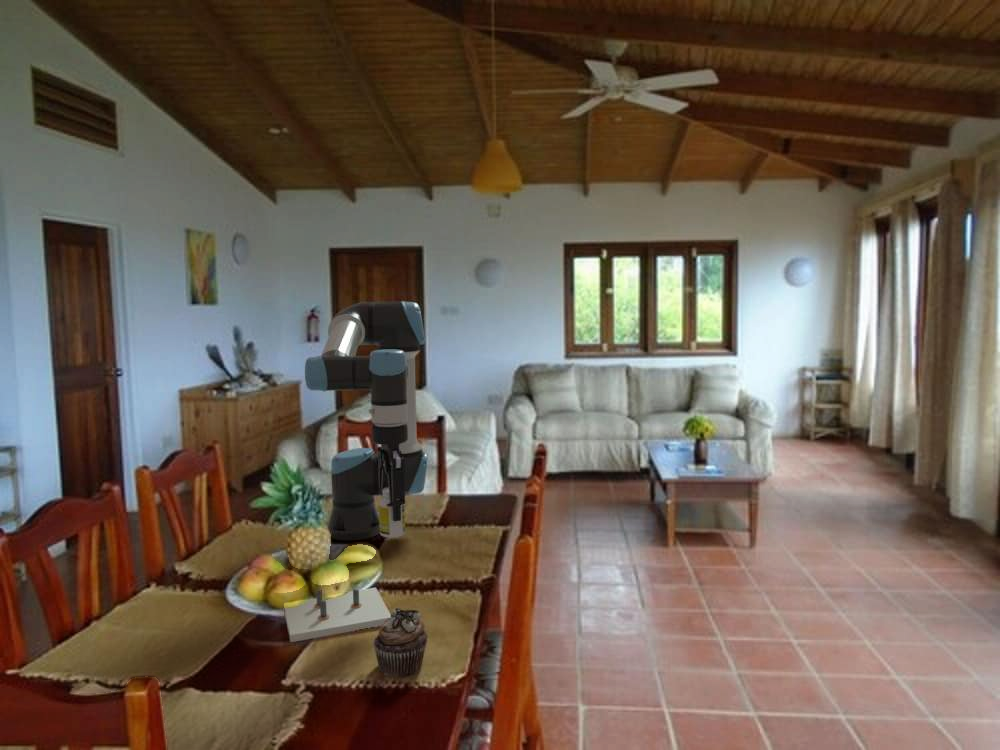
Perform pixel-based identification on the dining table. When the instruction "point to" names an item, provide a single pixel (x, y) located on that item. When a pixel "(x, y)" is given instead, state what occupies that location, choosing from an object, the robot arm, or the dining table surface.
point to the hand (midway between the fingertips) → (392, 530)
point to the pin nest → (336, 614)
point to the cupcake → (401, 644)
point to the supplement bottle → (387, 514)
